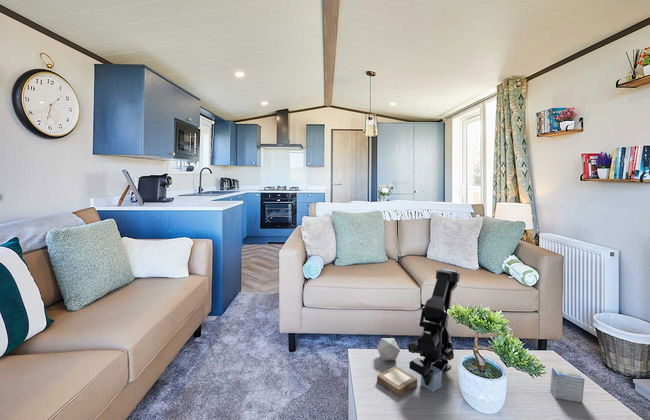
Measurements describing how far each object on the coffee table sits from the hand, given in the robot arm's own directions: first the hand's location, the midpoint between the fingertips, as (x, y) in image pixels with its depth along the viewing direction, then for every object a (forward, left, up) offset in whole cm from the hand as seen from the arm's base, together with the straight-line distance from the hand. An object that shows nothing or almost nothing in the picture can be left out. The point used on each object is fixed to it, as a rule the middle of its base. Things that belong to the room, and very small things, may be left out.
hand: (431, 382), depth 112 cm
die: (-1, -21, -2) cm, 21 cm away
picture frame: (+9, -8, -1) cm, 12 cm away
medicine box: (-32, +31, -2) cm, 45 cm away
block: (0, 0, -1) cm, 1 cm away
